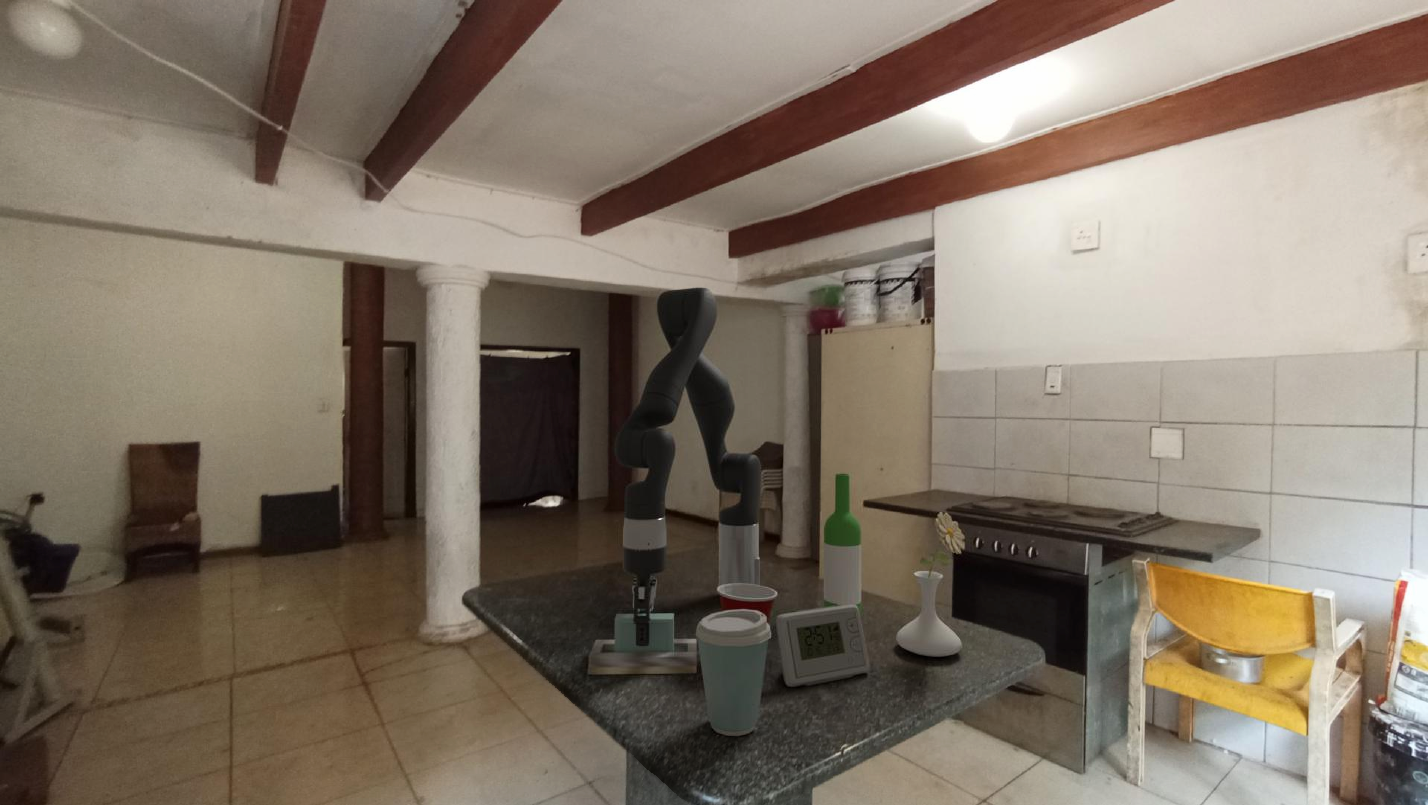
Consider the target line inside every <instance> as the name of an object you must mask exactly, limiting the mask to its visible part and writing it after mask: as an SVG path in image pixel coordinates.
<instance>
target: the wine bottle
mask: <svg viewBox="0 0 1428 805" xmlns="http://www.w3.org/2000/svg"><path fill="white" fill-rule="evenodd" d="M834 478H835V482H834V483H835V485H834V489H835V490H834V491H835V493H834V494H835V495H834V499H835V500H834V511H833V512H832V513H831V514H830V515H829V516H828V518H827V519H826V520H825V524H824V527H823V607H829V606H843V605H850V604H854V605H856V606H857V607H858V610H859V614H860V615H861V613H862V529H861V528H862V527H861V525H860V522H859V520H858V519H857V517H856V516H855V515H854V514H853V513H852V512H851V510H850V507H851V505H850V504H851V503H850V501H851V500H850V497H851V496H850V494H851V492H850V474H849V473H836V474H835V477H834Z"/></svg>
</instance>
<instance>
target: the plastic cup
mask: <svg viewBox="0 0 1428 805" xmlns="http://www.w3.org/2000/svg"><path fill="white" fill-rule="evenodd" d="M716 591H717V593H718V597H719V602H720V606H721V609H722V611H726V610H738V609H747V610H757V611H759V612H761V613H763V614H764V615H765V616H766V617H767V623H768V624H769V622H770V618H771V611H772V608H773V605H774V603H775V599H776V598H777V597H778V592H777V591H776V590H775V589H773V588H770V587H767V586H765V585H764V586H763V585H760V586H759V585H754V584H742V583H736V584H725V585H721V586H719V585H718V586H717V587H716ZM722 611H721V612H722Z"/></svg>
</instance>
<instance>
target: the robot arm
mask: <svg viewBox="0 0 1428 805" xmlns="http://www.w3.org/2000/svg"><path fill="white" fill-rule="evenodd" d="M656 313H657V319H658V322H659V326H660V328H661V331H662V333H663V335H664V338H665V340H666V342H667V345H668V347H669V349H670V351H669V352H668V353H667V354H666V355H665V356H664V357H662V359H661V360H660V361H659V362H658V363H657V364H656V365H655V366H654V368H653V369H652V371H651V372H650V374H649V376H648V378H647V380H646V383H645V386H644V389H643V391H642V394H641V397H640V400H639V402H638V405H637V406H636V407H635V408H634V410H633V411H632V412H631V414H630V415H629V417H628V418H627V419H626V420H625V422H624V424H623V425H622V427H620V430H619V431H618V434H617V436H616V438H615V442H614V456H615V459H616V461H617V463H619V464H620V465H621V466H623V467H625V468H631V469H647V470H648V472H647V474H646V476H645V479H644V480H640V481H635V482H631V483H629V484H627V485H626V487H625V490H624V521H623V527H622V528H623V530H622V534H623V535H622V569H623V571H624V572H626V573H628V574H630V575H631V574H632V575H633V574H634V575H635V576H636V578H634V579H633V583H632V586H631V587H632V588H631V591H632V594H633V597H632V608H633V614H634V618H633V621H634V624H636V645H637V646H648V645H649V624H650V621H651V618H650V614H654V613H653V610H654V606H655V599H656V596H657V595H656V594H657V583H658V581H657V580H658V579H657V578H655V574H656V575H657V574H660V573H662V572H664V571H666V569H667V536H668V535H667V524H666V492H667V487H668V482H669V478H670V474H671V470H672V468H673V467H672V466H673V465H674V464H673V463H674V460H675V457H676V451H677V450H676V441H675V438H674V437H673V435H672V433H671V432H670V431H669V430H667V429H666V428H661V427H664V426H667V425H670V424H672V423H673V422H674V421H675V419H676V417H677V413H678V410H679V407H680V405H681V401H682V398H683V395H684V391H686V394H687V397H688V401H689V404H690V407H691V410H692V413H693V414H694V418H695V420H696V423H697V426H698V429H699V432H700V435H701V437H702V441H703V442H702V443H703V445H704V450H705V455H706V458H707V463H708V468H709V472H710V476H711V480H712V481H713V484H714V487H715V488H716V489H717V490H718V491H719V492H722V493H727V494H728V493H729V494H740V497H739V498H740V499H739V501H738V502H737V503H736V504H734V505H731V506H729V507H724V508H723V509H721V510H720V511H719V514H718V523H719V524H718V527H719V528H718V587H719V586H721V585H725V584H736V583H742V584H754V585H759V586H761V581H760V580H761V576H760V573H761V572H760V571H761V561H760V556H759V550H760V548H759V544H760V542H759V540H760V539H759V538H760V536H759V534H760V531H759V530H760V528H759V527H760V526H759V524H760V523H759V519H760V516H759V515H760V509H761V489H762V463H761V461H760V459H759V457H758V456H757V455H756V454H751V453H731V452H729V451H728V449H727V446H726V442H725V441H726V440H725V439H726V438H725V437H726V434H727V432H728V429H729V427H730V425H731V423H732V421H733V418H734V415H735V410H736V405H735V402H734V401H735V400H734V397H733V394H732V393H733V392H732V390H731V387H730V384H729V381H728V379H727V378H726V376H725V375H724V373H723V372H722V371H721V370H720V369H719V368H718V367H717V366H716V365H714V363H713V362H712V361H711V360H709V359H708V358H707V357H706V355H705V354H703V353H702V352H703V351H704V348H705V346H706V344H707V342H708V340H709V338H710V336H711V334H712V332H713V330H714V328H715V325H716V321H717V318H718V304H717V301H716V298H715V295H714V294H713V292H712V291H711V290H710V289H709V288H706V287H692V288H681V289H680V288H679V289H672V290H666V291H664V292H662V293H661V294H660V295H659V296H658V298H657V303H656ZM639 614H646V616H639Z"/></svg>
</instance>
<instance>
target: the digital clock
mask: <svg viewBox="0 0 1428 805" xmlns="http://www.w3.org/2000/svg"><path fill="white" fill-rule="evenodd" d="M774 624H775V629H776V630H775V631H776V636H777V642H778V644H777V645H778V649H779V650H778V651H779V656H780V662H781V668H782V670H781V671H782V676H783V681H784V684H785V685H786V686H787V687H791V688H795V687H799V686H806V687H807V686H812V685H817V684H818V685H819V684H822V683H827V682H833V681H838V680H843V679H848V678H849V679H850V678H853V676H856V675H860V674H865V673H868V672H869V671H870V659H869V655H868V650H867V646H866V639H865V634H864V631H863V625H862V619H861V613H860V614H859V610H858V607H857V606H856V605H854V604H850V605H843V606H829V607H824V606H822V607H816V608H809V609H801V610H795V612H788V613H787V612H786V613H783V614H782V613H781V614H778V615H777V616H776V617H775V619H774Z"/></svg>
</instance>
